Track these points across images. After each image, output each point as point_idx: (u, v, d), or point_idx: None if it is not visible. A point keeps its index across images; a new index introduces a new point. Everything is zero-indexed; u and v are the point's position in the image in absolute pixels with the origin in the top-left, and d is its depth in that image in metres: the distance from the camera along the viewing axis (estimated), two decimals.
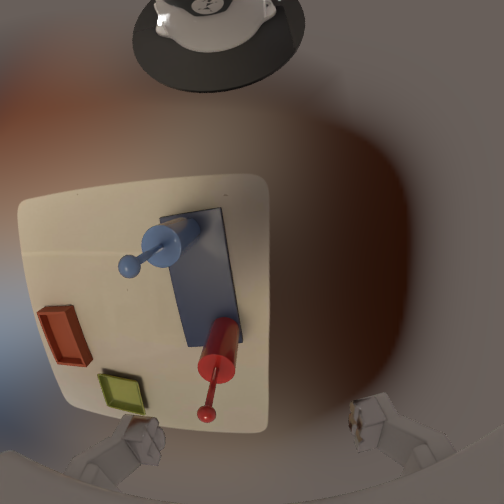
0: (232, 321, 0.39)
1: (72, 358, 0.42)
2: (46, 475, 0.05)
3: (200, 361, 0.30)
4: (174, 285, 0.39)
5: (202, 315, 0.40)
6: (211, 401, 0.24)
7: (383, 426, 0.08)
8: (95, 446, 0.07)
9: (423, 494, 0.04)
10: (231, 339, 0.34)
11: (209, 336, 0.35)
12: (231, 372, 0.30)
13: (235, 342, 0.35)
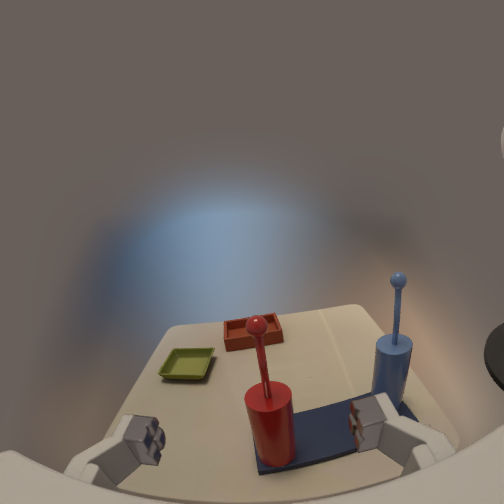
0: (293, 456, 0.24)
1: (228, 335, 0.56)
2: (47, 475, 0.05)
3: (278, 383, 0.25)
4: (327, 406, 0.32)
5: (295, 432, 0.29)
6: (262, 345, 0.22)
7: (383, 426, 0.08)
8: (95, 446, 0.07)
9: (423, 494, 0.04)
10: (289, 434, 0.23)
11: None
12: (264, 408, 0.22)
13: (283, 439, 0.23)
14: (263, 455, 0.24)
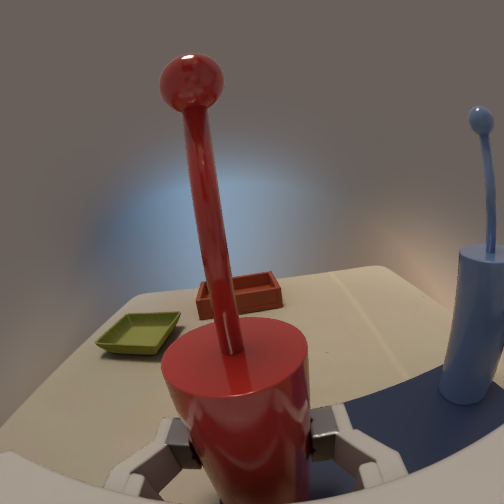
0: None
1: None
2: (46, 475, 0.05)
3: (268, 320, 0.10)
4: (365, 398, 0.16)
5: None
6: (203, 137, 0.06)
7: (335, 438, 0.08)
8: (136, 454, 0.07)
9: (423, 494, 0.04)
10: (297, 467, 0.07)
11: None
12: (211, 386, 0.06)
13: (280, 483, 0.07)
14: None
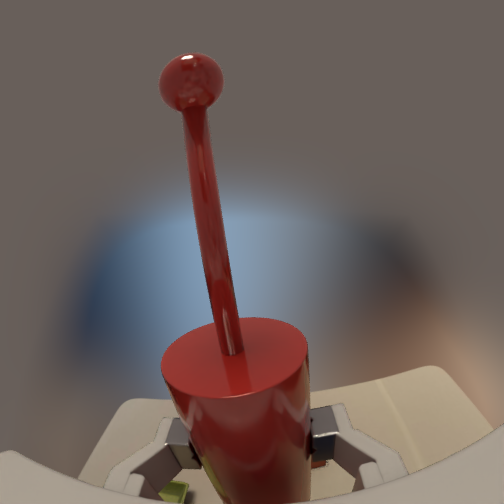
0: None
1: None
2: (46, 475, 0.05)
3: (268, 320, 0.10)
4: None
5: None
6: (203, 137, 0.06)
7: (335, 438, 0.08)
8: (136, 454, 0.07)
9: (423, 494, 0.04)
10: (297, 467, 0.07)
11: None
12: (211, 387, 0.06)
13: (280, 483, 0.07)
14: None
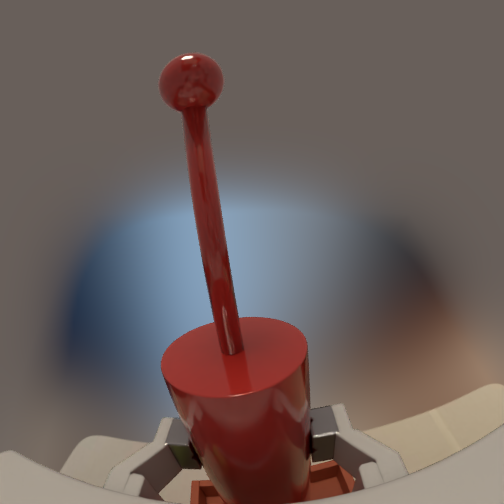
0: None
1: None
2: (46, 475, 0.05)
3: (268, 320, 0.10)
4: None
5: None
6: (203, 136, 0.06)
7: (335, 438, 0.08)
8: (135, 454, 0.07)
9: (423, 494, 0.04)
10: (297, 467, 0.07)
11: None
12: (210, 386, 0.06)
13: (280, 482, 0.07)
14: None
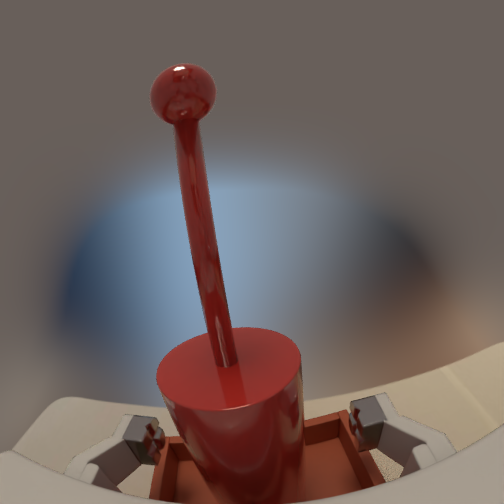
0: None
1: (173, 495, 0.10)
2: (46, 475, 0.05)
3: (262, 330, 0.10)
4: None
5: None
6: (195, 151, 0.06)
7: (383, 426, 0.08)
8: (95, 446, 0.07)
9: (423, 494, 0.04)
10: (292, 474, 0.07)
11: None
12: (204, 399, 0.06)
13: (274, 489, 0.07)
14: None
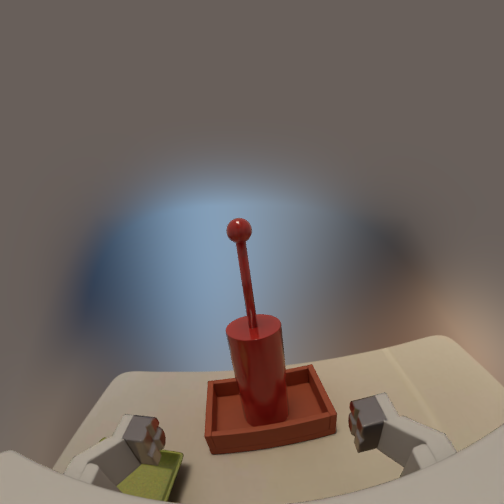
0: (285, 415, 0.22)
1: (216, 414, 0.24)
2: (46, 475, 0.05)
3: (266, 315, 0.23)
4: None
5: None
6: (245, 254, 0.20)
7: (383, 426, 0.08)
8: (95, 446, 0.07)
9: (423, 494, 0.04)
10: (279, 379, 0.21)
11: None
12: (247, 337, 0.20)
13: (272, 386, 0.21)
14: (248, 411, 0.22)
